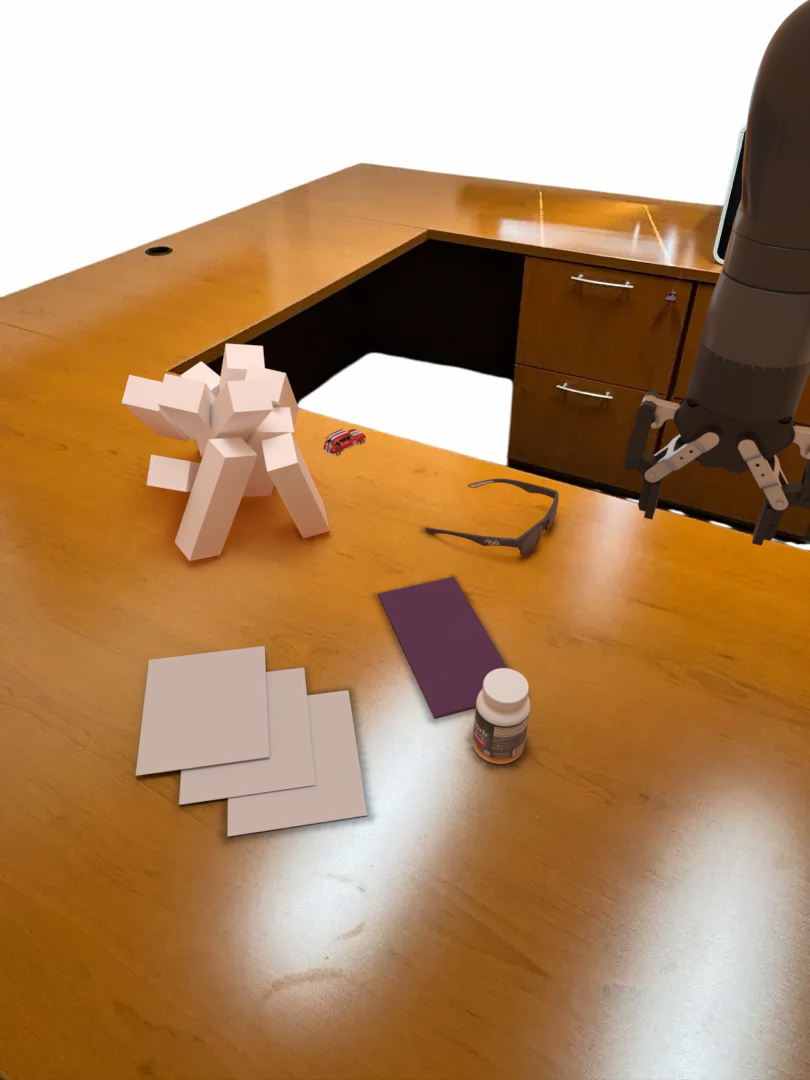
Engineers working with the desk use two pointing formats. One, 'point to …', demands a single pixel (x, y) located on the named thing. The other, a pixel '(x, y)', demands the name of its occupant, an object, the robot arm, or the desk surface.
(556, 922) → the desk surface
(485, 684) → the pill bottle
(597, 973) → the desk surface
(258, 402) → the pile of blocks
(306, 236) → the desk surface
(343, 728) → the paper stack
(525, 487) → the sunglasses
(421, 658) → the cloth
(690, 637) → the desk surface
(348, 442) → the toy car
